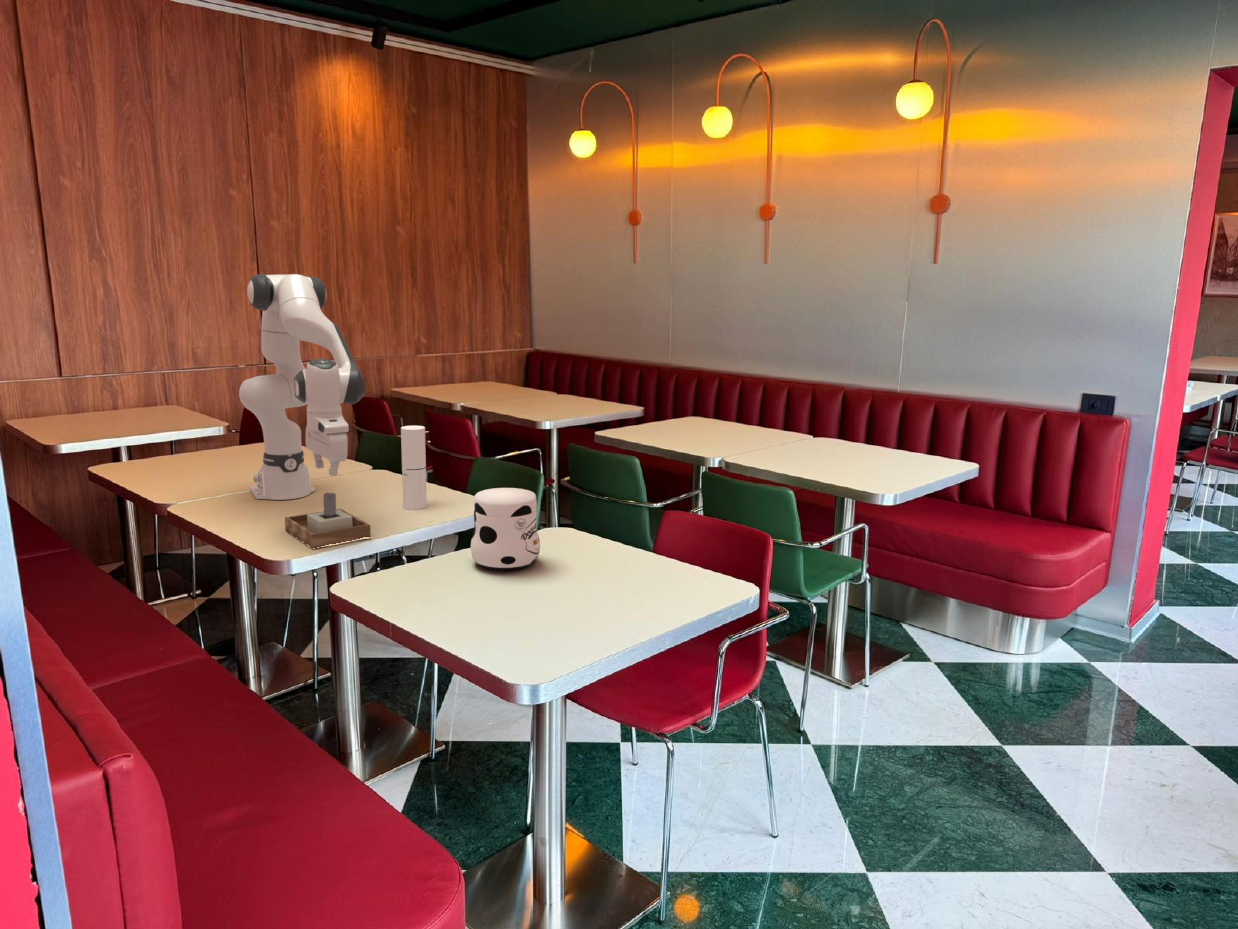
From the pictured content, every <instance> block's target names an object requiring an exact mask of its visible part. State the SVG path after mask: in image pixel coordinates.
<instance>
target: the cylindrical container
mask: <svg viewBox="0 0 1238 929" xmlns="http://www.w3.org/2000/svg"><path fill="white" fill-rule="evenodd" d="M400 436H401V438H400V439H401V440H400V442H401V443H400V444H401V472H402V474H401V476H402V477H401V478H402V480H401V482H402V504H403V505H402V507H403V509H405V510H412V511H414V510H417V511H418V510H419V511H420V510H424V509H426V508H428V507H427V506H428V505H427V504H428V503H427V501H428V500H427V498H428V497H427V464H426V463H427V462H426V461H427V458H426V456H427V455H426V453H427V452H426V427H425V426H423V425H404V426H401V427H400Z"/></svg>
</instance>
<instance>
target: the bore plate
mask: <svg viewBox="0 0 1238 929" xmlns="http://www.w3.org/2000/svg"><path fill="white" fill-rule="evenodd" d="M319 512H320V513H316V512H313V513H314V514H310V513H306V514H307V524H308V530H309V531H311V532H312V533H314V534H315V533H320V532H326V531H332V530H338V529H344V528H349V527H353V522H352V516H350V515H348V514H346V513H344V512H343V511H341V510H336V517H334V518H328V519H324V512H322V511H319Z"/></svg>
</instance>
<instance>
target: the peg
mask: <svg viewBox="0 0 1238 929" xmlns="http://www.w3.org/2000/svg"><path fill="white" fill-rule="evenodd" d="M322 495H323V496H322V497H323V511H324V519H328V518H334V517H336V509H337V500H336V499H337V497H336V496H337V493H335V492H325V493H323V494H322Z"/></svg>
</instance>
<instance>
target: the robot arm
mask: <svg viewBox="0 0 1238 929" xmlns="http://www.w3.org/2000/svg"><path fill="white" fill-rule="evenodd" d="M246 290H247V291H246V292H247V298H248V300H249V303H250V304H249V305H251V307H253V308H254V309H256V310H259V311H262V316H261V332H260V333H261V335H260V336H261V337H260V339H261V343H260V344H261V346H260V349H261V351H260V352H261V354H262V356H263V358H265V360H267V361H269V362H271V363H273V365H274V366H275V367H274V368H275V370H276V371H275V372H276V373H274V374H266V375H264V374H263V375H258V376H257V375H256V376H254V377H250V378H248V379H245V380H244V381H243V382H242V383H241V384H240V387H239V389H238V390H239V391H238V397H239V399H240V402H241V404H242V405H243V407H244V408H245V409H246V410H248V411H250V413H252V414H254V416H255V417H256V419H257V420H258V422H259V424H260V426H261V430H262V435H263V445H264V453H263V456H262V462H263V464H262V466H261V467H260V469H259V470H258V471H257V473H256V474H254V475H253V482H254V483H257V484H253V485H251V486H250V491H251V492H252V494H253V496H254V498H255V499H257V500H273V501H276V500H277V501H280V500H281V501H283V500H284V501H285V500H294V499H301V498H304V497H306V496H308V495H310V494H311V493H314V492H316V487H314V486H312V485H311V477H310V469H309V467H308V466H307V464H305V454H304V450H303V449H302V446H303V445H302V430H301V428H300V425H298V423H296V422H294V420H293V421H292V420H290V419H289V417H288V416H287V414H286V409H291V408H298V407H303V406H306V405H307V406H306V427H305V446H306V449H307V450H309V451H310V452H312V455H313V459H314V462H315V468H316V469H318V470H319V469H323V468H324V467H325V466H324V464H325V463H324V461H323V458H325V459H327V460H329V464H330V466H329V468H328V475H330V476H331V477H335V476H338V474H339V473H338V469H339V467H340V463H342V462H346V460H347V459H348V458H347V457H348V448H349V447H348V446H349V445H348V444H349V440H348V439H349V438H348V434H347V433H349V424H348V422H347V421H346V420H345V418H344V416H343V414H342V413H343V412H342V406H341V404H345V405H355V404H356V403H358V402H360V401H361V399H362V398H363V397H365V394H366V389H367V388H366V382H365V378H364V376H363V373H362V371H361V370H360V369H359V367H358V366H357V364H356V362H355V360H354V358H353V355H352V353H351V351H350V349H349V347H348V345H347V341H346V340H345V338H344V335H343V334H342V332H341V330H340V328H339V326H338V325H337V323H335V322H333V321H331V320H330V319H329V318H328V317H327V316H326V315H325V314H324V313H323V311H322V309H323V308H324V307H325V305H326V302H327V296H328V295H327V289H326V286H325V283H324V282H323V280H322V279H320V278H318V277H314V276H312V275H311V276H310V275H309V276H305V275H303V274H297V273H292V274H289V273H287V274H265V273H262V274H261V273H259V274H256V275H253V276H252V277H251V278H250V279H249V282H248V284H247V288H246ZM300 341H302V342H307V343H311V344H315V345H318V346H321V347H322V348H324V349H327V350H328V351H329V352H330V354H331V355H332V358H333V360H331V359H327V358H316V359H311V360H309V361H307V364H306V367H305V366H304V364H303V360H302V358H301V343H300Z"/></svg>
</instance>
